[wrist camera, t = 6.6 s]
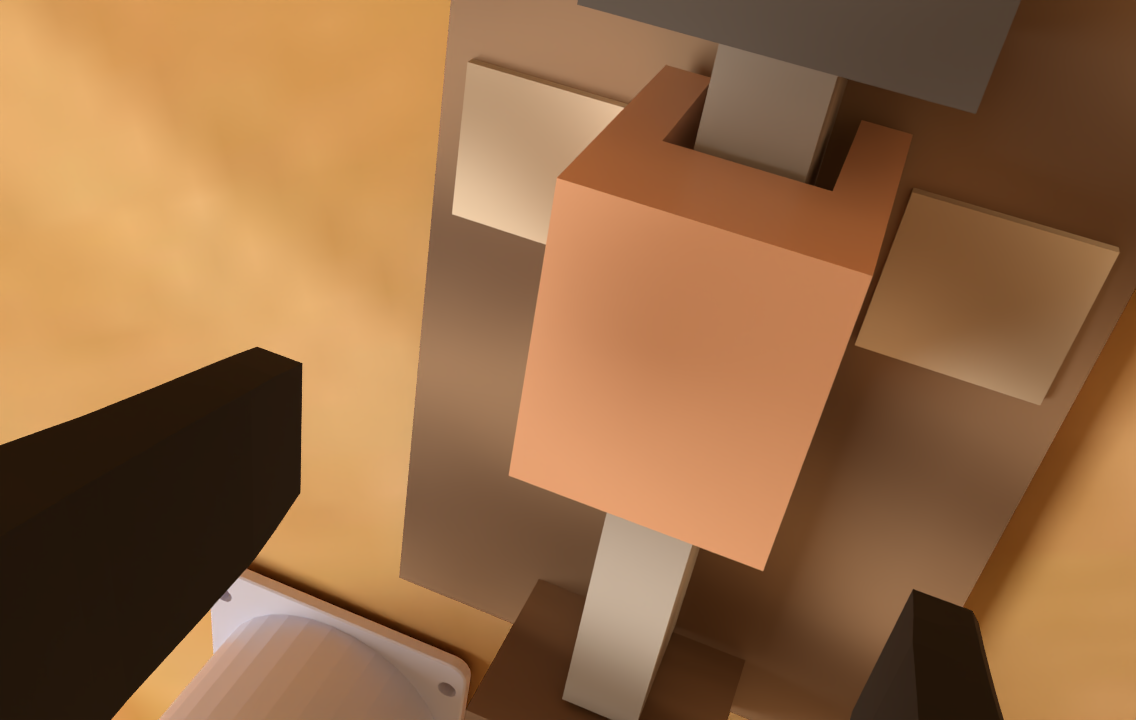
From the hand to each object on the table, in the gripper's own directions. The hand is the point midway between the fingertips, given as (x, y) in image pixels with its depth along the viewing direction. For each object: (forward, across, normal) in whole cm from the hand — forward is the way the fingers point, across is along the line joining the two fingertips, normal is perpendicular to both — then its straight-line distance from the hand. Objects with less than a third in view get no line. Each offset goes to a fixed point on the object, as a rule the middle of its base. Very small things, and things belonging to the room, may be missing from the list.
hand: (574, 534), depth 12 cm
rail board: (+9, 0, +3) cm, 10 cm away
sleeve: (+8, 0, 0) cm, 8 cm away
